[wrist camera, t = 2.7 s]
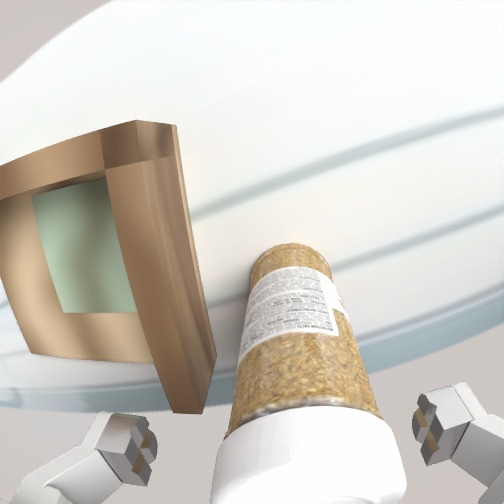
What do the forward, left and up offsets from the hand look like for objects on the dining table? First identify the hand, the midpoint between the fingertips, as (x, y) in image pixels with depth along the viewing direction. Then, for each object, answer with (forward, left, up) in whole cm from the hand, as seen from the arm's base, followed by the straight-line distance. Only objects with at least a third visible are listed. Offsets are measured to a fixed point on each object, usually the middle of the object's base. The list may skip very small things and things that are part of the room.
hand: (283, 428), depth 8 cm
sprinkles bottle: (-1, 0, -11) cm, 11 cm away
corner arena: (+12, -2, -10) cm, 16 cm away
